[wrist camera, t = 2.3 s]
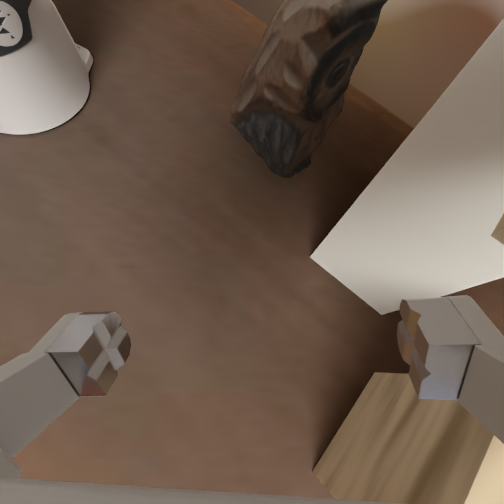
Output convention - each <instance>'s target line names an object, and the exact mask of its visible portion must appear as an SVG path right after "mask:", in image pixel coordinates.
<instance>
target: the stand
mask: <svg viewBox="0 0 504 504" xmlns="http://www.w3.org/2000/svg"><path fill="white" fill-rule="evenodd" d="M503 214H504V19H503V20H502V21H501V22H500V24H499V25H498V26H497V28H496V29H495V30H494V31H493V32H492V34H491V35H490V36H489V37H488V38H487V40H486V41H485V42H484V43H483V45H482V46H481V47H480V48H479V50H478V51H477V52H476V53H475V55H474V56H473V57H472V58H471V60H470V61H469V62H468V63H467V64H466V66H465V67H464V68H463V69H462V70H461V72H460V73H459V74H458V75H457V77H456V78H455V79H454V80H453V81H452V83H451V84H450V85H449V86H448V88H447V89H446V90H445V91H444V93H443V94H442V95H441V96H440V98H439V99H438V100H437V101H436V102H435V104H434V105H433V106H432V107H431V109H430V110H429V111H428V112H427V114H426V115H425V116H424V117H423V118H422V120H421V121H420V122H419V123H418V125H417V126H416V127H415V128H414V129H413V131H412V132H411V133H410V134H409V136H408V137H407V138H406V139H405V141H404V142H403V143H402V144H401V145H400V147H399V148H398V149H397V150H396V152H395V153H394V154H393V155H392V157H391V158H390V159H389V160H388V161H387V163H386V164H385V165H384V166H383V168H382V169H381V170H380V171H379V173H378V174H377V175H376V176H375V177H374V179H373V180H372V181H371V182H370V184H369V185H368V186H367V187H366V188H365V190H364V191H363V192H362V193H361V195H360V196H359V197H358V198H357V200H356V201H355V202H354V203H353V204H352V206H351V207H350V208H349V209H348V211H347V212H346V213H345V214H344V216H343V217H342V218H341V219H340V220H339V222H338V223H337V224H336V225H335V227H334V228H333V229H332V230H331V232H330V233H329V234H328V235H327V236H326V238H325V239H324V240H323V241H322V243H321V244H320V245H319V246H318V248H317V249H316V250H315V251H314V252H313V254H312V255H311V256H310V258H311V259H313V260H314V261H315V262H316V263H318V264H319V265H320V266H321V267H323V268H324V269H325V270H326V271H327V272H329V273H330V274H331V275H332V276H334V277H335V278H336V279H337V280H339V281H340V282H341V283H342V284H344V285H345V286H346V287H347V288H349V289H350V290H351V291H352V292H354V293H355V294H356V295H357V296H359V297H360V298H361V299H362V300H364V301H365V302H366V303H367V304H368V305H370V306H371V307H372V308H373V309H375V310H376V311H377V312H378V313H380V314H381V315H384V314H387V313H390V312H393V311H396V310H399V309H400V303H401V301H402V299H416V298H436V297H441V296H445V295H448V294H451V293H454V292H458V291H461V290H464V289H467V288H470V287H474V286H477V285H480V284H483V283H487V282H490V281H493V280H496V279H499V278H503V277H504V245H503V244H502V243H500V242H499V241H497V240H496V239H495V238H493V237H492V236H491V234H492V233H493V231H494V229H495V227H496V226H497V224H498V222H499V221H500V219H501V217H502V215H503Z"/></svg>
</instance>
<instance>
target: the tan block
mask: <svg viewBox="0 0 504 504" xmlns="http://www.w3.org/2000/svg"><path fill="white" fill-rule="evenodd" d="M312 472H313V474H314V475H315V476H316V477H317V478H318V480H319V481H320V482H321V483H322V484H323V486H324V487H325V488H326V489H327V490H328V492H329V493H330V494H331V495H332V496H333V497H334V499H342V500H357V501H372V502H388V503H403V504H504V444H503V443H502V442H501V441H500V440H499V439H498V438H497V437H496V436H494V435H493V434H492V433H491V432H490V431H489V430H488V429H487V428H486V427H485V426H483V425H482V424H481V423H480V422H479V421H478V420H477V419H476V418H475V417H474V416H472V415H471V414H470V413H469V412H468V411H467V410H466V409H465V408H464V407H462V406H461V405H460V404H459V403H458V400H435V399H418V396H417V394H416V391H415V389H414V387H413V384H412V382H411V379H410V377H409V374H401V373H381V372H374V374H373V376H372V377H371V379H370V380H369V382H368V384H367V385H366V387H365V388H364V390H363V391H362V393H361V395H360V396H359V398H358V399H357V401H356V403H355V404H354V406H353V407H352V409H351V411H350V412H349V414H348V415H347V417H346V419H345V420H344V422H343V423H342V425H341V427H340V428H339V430H338V431H337V433H336V435H335V436H334V438H333V439H332V441H331V443H330V444H329V446H328V447H327V449H326V451H325V452H324V454H323V455H322V457H321V459H320V460H319V462H318V463H317V465H316V466H315V468H314V470H313V471H312Z"/></svg>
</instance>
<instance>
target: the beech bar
mask: <svg viewBox="0 0 504 504" xmlns="http://www.w3.org/2000/svg"><path fill="white" fill-rule="evenodd" d="M491 236H492V237H493V238H495V239H496V240H497V241H499V242H500V243H502V244H503V245H504V214H503V215H502V217H501V219H500V221H499V222H498V224H497V226H496V227H495V229H494V231H493V233H492V234H491Z"/></svg>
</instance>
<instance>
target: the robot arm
mask: <svg viewBox="0 0 504 504" xmlns="http://www.w3.org/2000/svg"><path fill="white" fill-rule="evenodd" d="M92 64H93V57H92V55H91V54H90V52H89V50H87V49H86V48H84V47H82V46H80V45H78V44H76V43H75V42H74V40H73V39H72V37H71V35H70V33H69V31H68V29H67V27H66V25H65V23H64V22H63V20H62V18H61V16H60V14H59V12H58V10H57V9H56V7H55V5H54V3H53V2H52V0H0V133H6V134H17V135H21V134H33V133H39V132H43V131H46V130H49V129H52V128H55V127H57V126H59V125H61V124H63V123H64V122H66V121H68V120H69V119H71V118H72V117H73V116H74V115H75V114H76V113H77V112H78V111H79V110H80V109H81V108H82V107H83V105H84V104H85V102H86V100H87V97H88V94H89V89H90V84H89V77H88V74H89V71H90V68H91V66H92ZM399 312H400V314H401V316H402V320H401V321H400V322H399V323H398V325H397V340H398V346H399V350H400V353H401V356H402V359H403V360H404V361H405V362H406V363H408V364H409V365H410V370H409V377H410V379H411V382H412V384H413V387H414V389H415V391H416V394H417V396H418V399H435V400H458V403H459V404H460V405H461V406H462V407H464V408H465V409H466V410H467V411H468V412H469V413H470V414H471V415H472V416H474V417H475V418H476V419H477V420H478V421H479V422H480V423H481V424H482V425H483V426H485V427H486V428H487V429H488V430H489V431H490V432H491V433H492V434H493V435H494V436H496V437H497V438H498V439H499V440H500V441H501V442H502V443H503V444H504V336H503V335H502V334H501V333H500V331H499V330H498V329H497V328H496V326H495V325H494V324H493V323H492V322H491V320H490V319H489V318H488V317H487V316H486V314H485V313H484V312H483V311H482V310H481V308H480V307H479V306H478V305H477V303H476V302H475V301H474V300H473V299H472V298H471V297H470V296H468V295H462V296H447V297H436V298H416V299H402V301H401V303H400V309H399ZM121 323H122V321H121V319H120V317H119V315H118V313H115V312H84V313H68V314H66V315H63V317H62V318H61V319H60V320H59V321H58V322H57V323H56V324H55V325H54V326H53V327H52V328H51V329H50V330H49V331H48V332H47V333H46V334H45V335H44V336H43V338H42V339H41V340H40V341H39V342H38V343H37V344H36V345H35V346H34V347H33V348H32V349H31V350H30V351H29V352H28V353H27V354H21V355H19V356H18V357H16V358H14V359H12V360H11V361H9V362H7V363H5V364H4V365H2V366H0V504H403V503H388V502H372V501H357V500H342V499H327V498H311V497H296V496H281V495H266V494H250V493H235V492H220V491H205V490H189V489H174V488H159V487H143V486H128V485H113V484H97V483H82V482H66V481H51V480H36V479H20V478H19V476H20V475H21V467H20V466H19V465H18V464H17V463H16V462H15V461H14V460H13V459H12V458H13V457H14V456H15V455H16V454H17V453H19V452H20V451H21V450H22V449H23V448H24V447H25V446H26V445H28V444H29V443H30V442H31V441H32V440H33V439H34V438H35V437H36V436H38V435H39V434H40V433H41V432H42V431H43V430H44V429H45V428H46V427H48V426H49V425H50V424H51V423H52V422H53V421H54V420H55V419H56V418H58V417H59V416H60V415H61V414H62V413H63V412H64V411H65V410H67V409H68V408H69V407H70V406H71V405H72V404H73V403H74V402H75V401H77V400H78V399H79V397H81V396H106V395H107V393H108V391H109V390H110V388H111V386H112V384H113V383H114V381H115V379H116V377H117V370H116V369H118V368H119V367H120V366H122V365H123V364H124V363H125V362H126V360H127V358H128V356H129V353H130V348H131V342H130V337H129V335H128V333H127V332H126V331H125V330H124V329H122V328H121V327H120V326H121Z"/></svg>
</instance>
